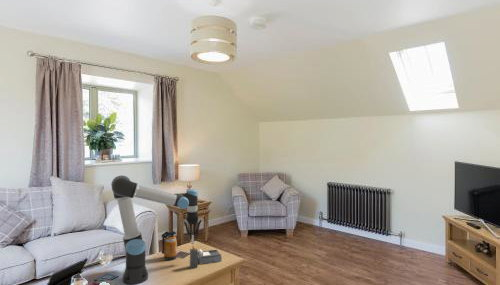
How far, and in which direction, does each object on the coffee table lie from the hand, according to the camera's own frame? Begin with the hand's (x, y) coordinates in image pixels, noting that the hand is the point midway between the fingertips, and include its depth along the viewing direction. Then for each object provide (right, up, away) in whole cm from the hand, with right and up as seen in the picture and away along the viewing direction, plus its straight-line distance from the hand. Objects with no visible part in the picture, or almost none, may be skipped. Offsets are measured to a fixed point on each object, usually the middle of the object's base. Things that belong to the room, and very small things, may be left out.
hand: (192, 243), depth 222 cm
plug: (+2, -13, -9) cm, 16 cm away
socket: (+10, -13, +4) cm, 17 cm away
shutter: (+8, -9, +3) cm, 13 cm away
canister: (-19, -13, +7) cm, 24 cm away
